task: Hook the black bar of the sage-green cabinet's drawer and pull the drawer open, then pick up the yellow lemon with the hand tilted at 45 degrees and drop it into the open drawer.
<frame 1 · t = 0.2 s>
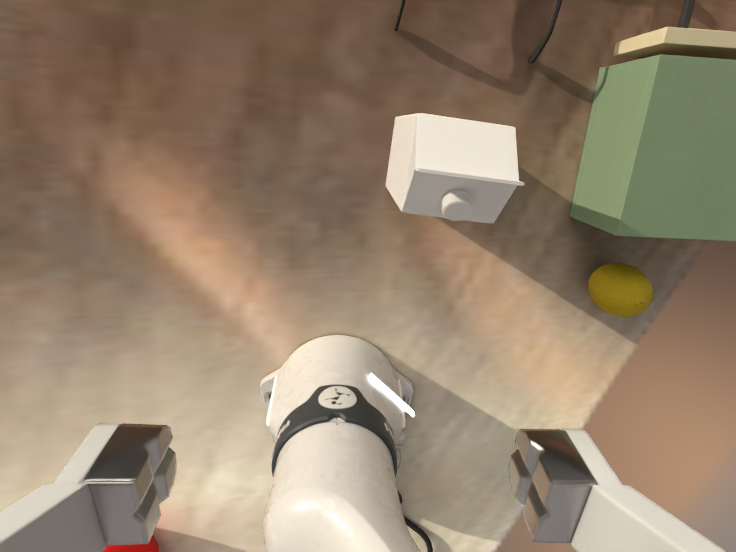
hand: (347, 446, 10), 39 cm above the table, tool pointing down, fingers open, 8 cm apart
milk carton: (422, 156, 46), on the table
ceramic cup: (124, 546, 62), on the table
lemon: (597, 276, 52), on the table
drawer: (684, 89, 41), point 5 cm above the table, slide at 1.0 cm
cabinet: (638, 149, 47), on the table
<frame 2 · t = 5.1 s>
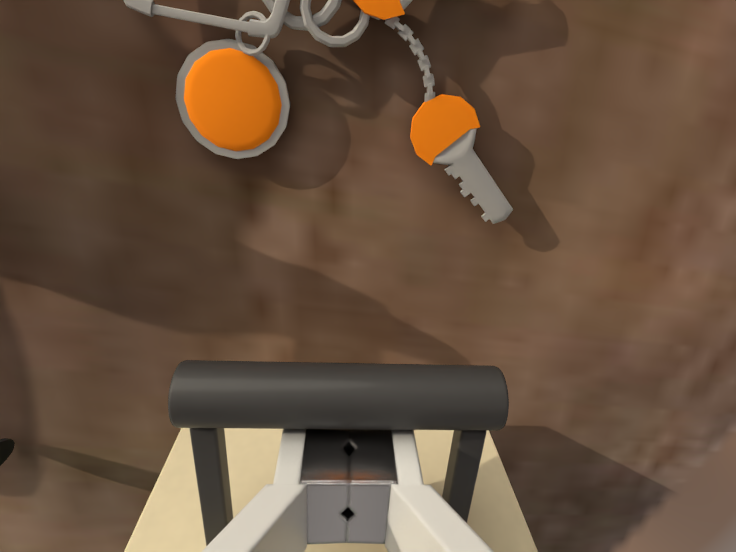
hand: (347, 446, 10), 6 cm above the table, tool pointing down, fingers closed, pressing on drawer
key chain: (348, 60, 13), on the table
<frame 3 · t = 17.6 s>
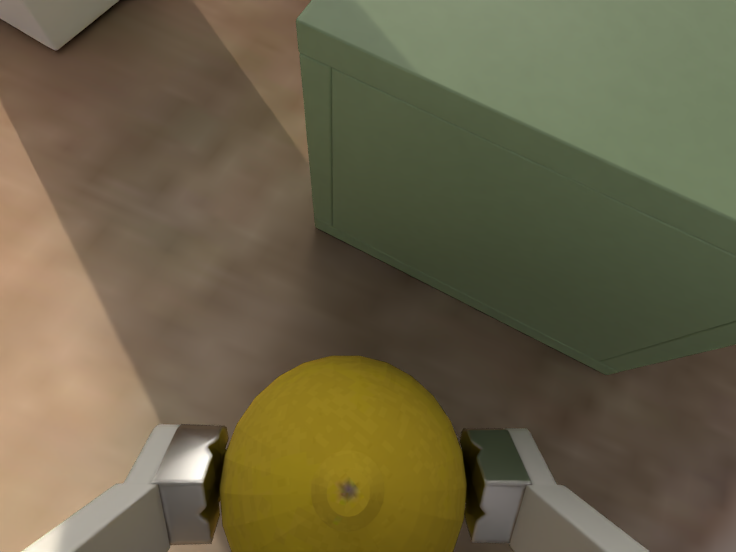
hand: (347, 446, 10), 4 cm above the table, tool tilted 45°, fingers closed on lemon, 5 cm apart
lemon: (342, 464, 14), on the table, touching gripper
cabinet: (523, 152, 19), on the table
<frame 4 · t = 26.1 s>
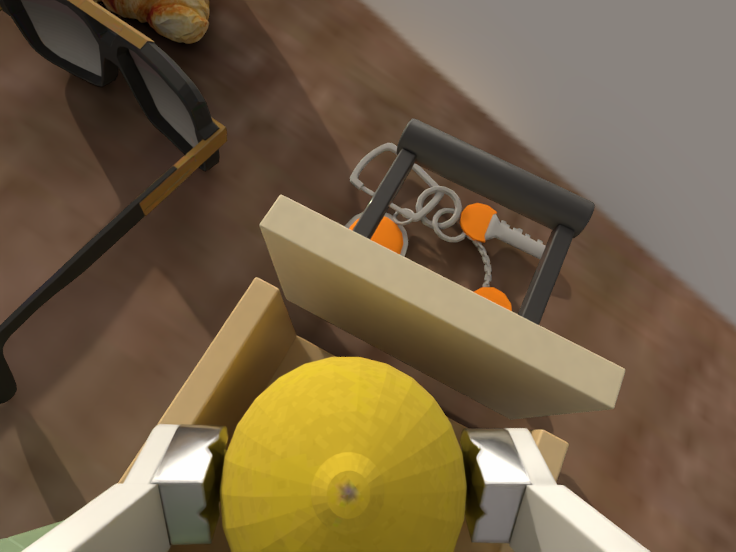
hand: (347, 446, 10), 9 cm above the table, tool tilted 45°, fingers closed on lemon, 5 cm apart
lemon: (342, 465, 14), point 4 cm above the table, touching gripper
drawer: (369, 418, 15), point 5 cm above the table, slide at 9.1 cm
key chain: (444, 253, 22), on the table
sunglasses: (42, 189, 22), on the table
when the fingers open (10 cm above the table, at t = 35.9 s): lemon drops 3 cm, resting on cabinet, drawer.
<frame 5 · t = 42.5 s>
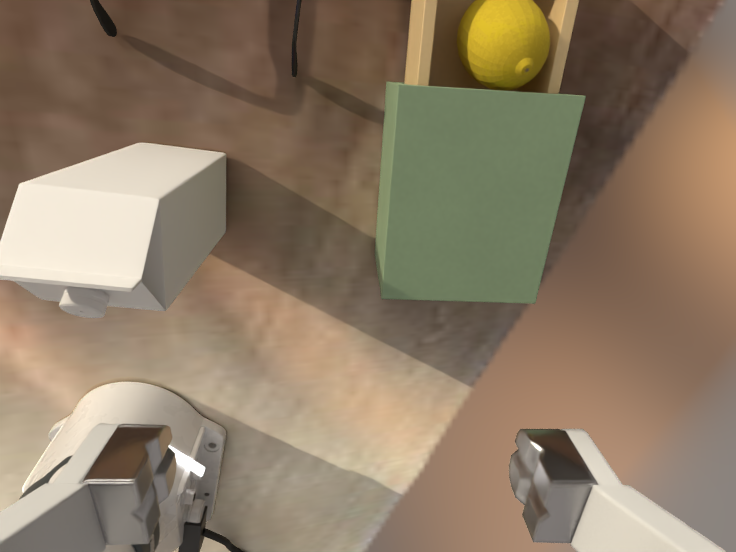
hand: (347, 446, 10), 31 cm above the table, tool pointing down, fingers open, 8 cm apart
milk carton: (186, 188, 39), on the table
lemon: (477, 14, 32), point 3 cm above the table, touching cabinet, drawer
cabinet: (447, 178, 39), on the table
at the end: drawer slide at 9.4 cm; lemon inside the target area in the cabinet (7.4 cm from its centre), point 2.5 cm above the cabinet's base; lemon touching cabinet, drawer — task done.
